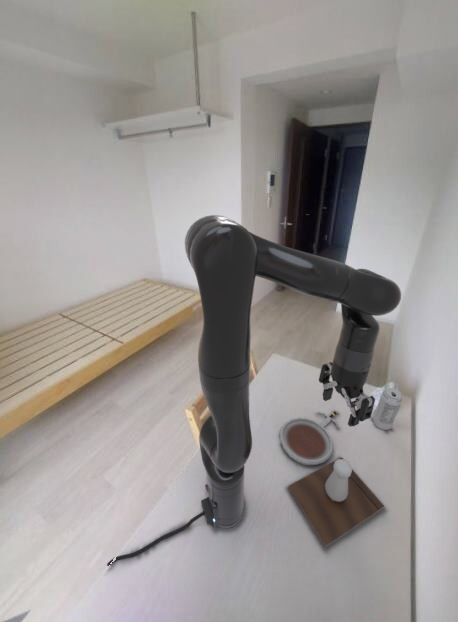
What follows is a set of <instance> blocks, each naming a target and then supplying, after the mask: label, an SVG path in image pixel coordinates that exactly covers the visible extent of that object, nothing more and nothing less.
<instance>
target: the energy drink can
mask: <svg viewBox="0 0 458 622" xmlns="http://www.w3.org/2000/svg"><path fill="white" fill-rule="evenodd" d="M402 396H403V395H402V392H401V391H399V390H398V389H396V388H394V387H387V388H385V390H383V391H382V393H381V394H380V397H379V400H378V403H377V406H376V409H375V411H374V414H373V417H372V422H373V425H375V427H376V428H378V429H380V430H382V431H388V430H390V429H392V427H393V425H394V422H395V420H396V417H397V415H398V413H399V410H400V408H401V406H402V403H403V398H402Z"/></svg>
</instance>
